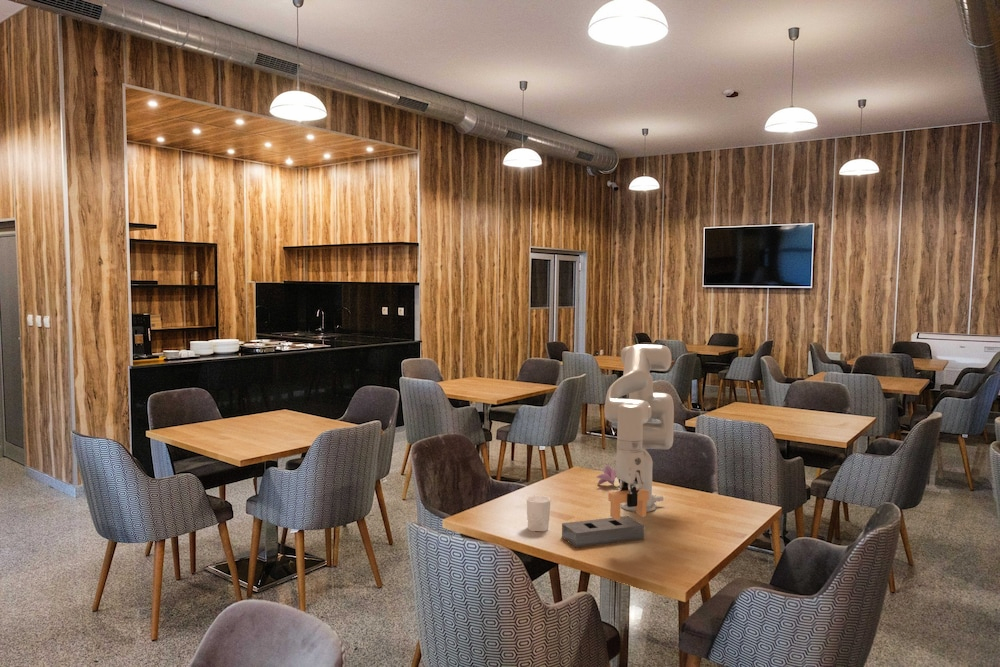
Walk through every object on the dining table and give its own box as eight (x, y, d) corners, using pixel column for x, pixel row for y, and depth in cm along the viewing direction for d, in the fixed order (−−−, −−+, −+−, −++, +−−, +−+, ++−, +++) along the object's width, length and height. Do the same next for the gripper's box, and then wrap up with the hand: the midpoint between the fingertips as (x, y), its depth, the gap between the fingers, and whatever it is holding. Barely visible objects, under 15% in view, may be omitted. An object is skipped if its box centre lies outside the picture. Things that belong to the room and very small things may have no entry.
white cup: (533, 534, 228) (534, 503, 228) (521, 526, 235) (522, 497, 235) (554, 530, 232) (555, 500, 231) (542, 523, 239) (542, 494, 238)
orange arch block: (642, 512, 218) (642, 488, 218) (648, 515, 215) (649, 491, 214) (608, 516, 214) (608, 492, 213) (613, 520, 211) (614, 495, 210)
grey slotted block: (627, 529, 234) (628, 515, 234) (643, 539, 224) (644, 525, 224) (561, 537, 226) (562, 523, 225) (575, 547, 216) (576, 533, 216)
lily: (629, 488, 287) (622, 465, 291) (628, 484, 277) (621, 460, 280) (600, 496, 288) (594, 473, 292) (599, 492, 278) (592, 469, 281)
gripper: (655, 449, 206) (654, 511, 208) (626, 438, 222) (625, 495, 223) (633, 451, 204) (631, 514, 205) (605, 439, 219) (604, 497, 221)
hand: (628, 503), depth 214 cm, fingers closed on orange arch block, 3 cm apart
